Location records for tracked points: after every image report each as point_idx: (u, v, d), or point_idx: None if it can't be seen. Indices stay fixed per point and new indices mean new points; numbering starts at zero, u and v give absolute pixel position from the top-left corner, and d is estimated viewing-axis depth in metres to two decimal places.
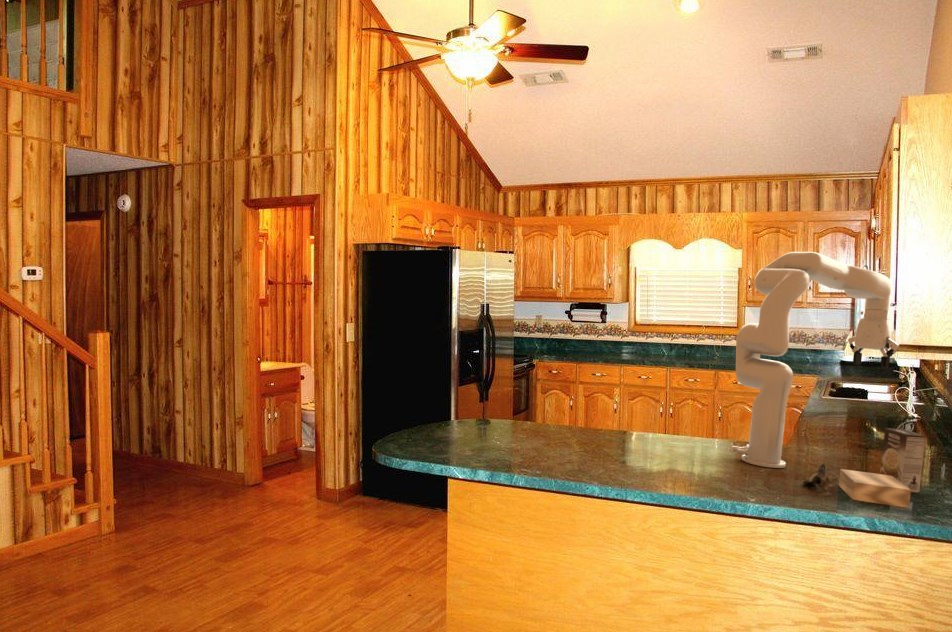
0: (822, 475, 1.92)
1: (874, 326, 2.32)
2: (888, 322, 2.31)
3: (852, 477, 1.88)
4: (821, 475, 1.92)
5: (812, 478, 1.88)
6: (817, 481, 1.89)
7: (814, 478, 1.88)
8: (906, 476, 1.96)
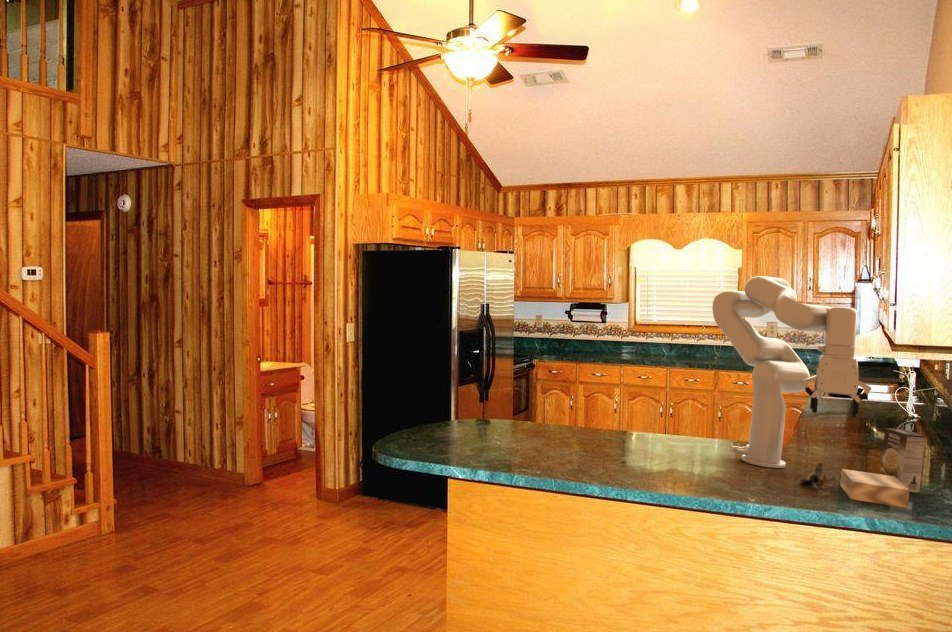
0: (819, 474, 1.94)
1: (847, 366, 1.91)
2: None
3: (851, 477, 1.88)
4: (818, 474, 1.93)
5: (809, 477, 1.89)
6: (814, 480, 1.90)
7: (811, 477, 1.90)
8: (906, 476, 1.96)
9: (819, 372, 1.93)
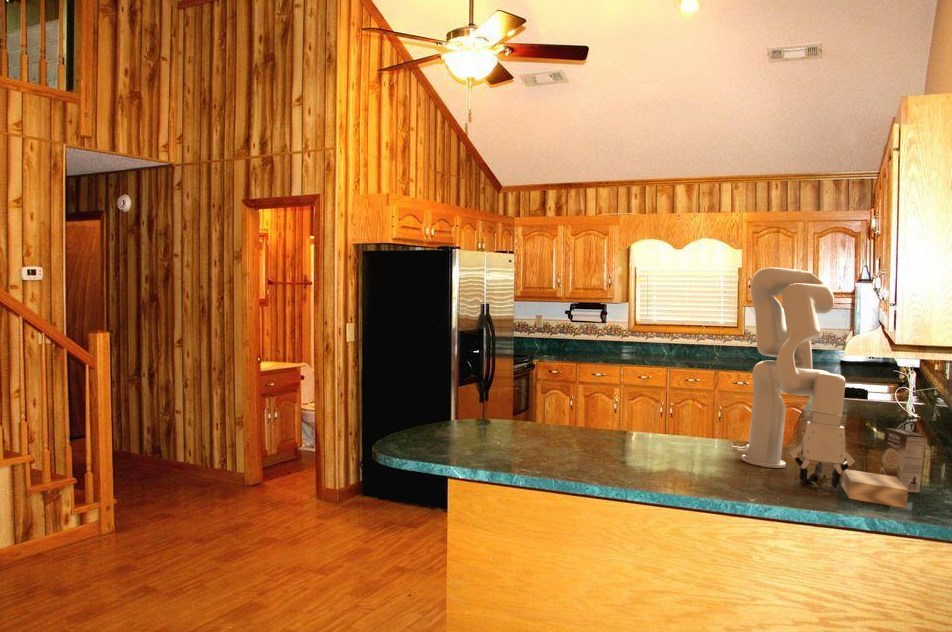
0: (819, 473, 1.95)
1: (834, 435, 1.87)
2: None
3: (851, 476, 1.88)
4: (818, 473, 1.94)
5: (809, 476, 1.90)
6: (814, 478, 1.91)
7: (811, 476, 1.91)
8: (906, 476, 1.96)
9: (805, 440, 1.89)
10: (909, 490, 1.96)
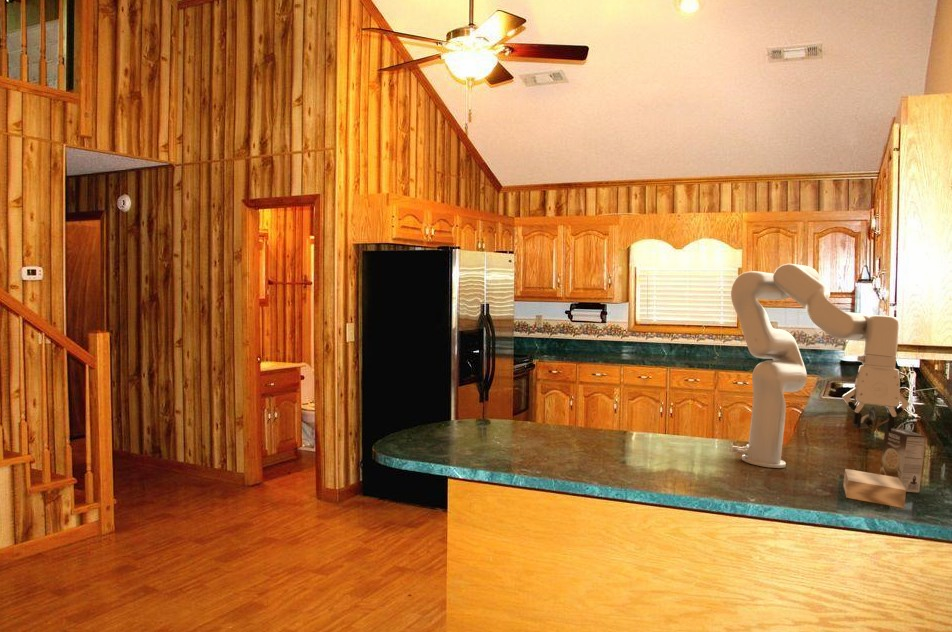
0: (872, 418, 1.92)
1: (888, 377, 1.84)
2: None
3: (850, 476, 1.89)
4: (871, 418, 1.91)
5: (863, 419, 1.88)
6: (868, 423, 1.88)
7: (865, 420, 1.88)
8: (906, 476, 1.96)
9: (859, 383, 1.87)
10: (909, 490, 1.96)
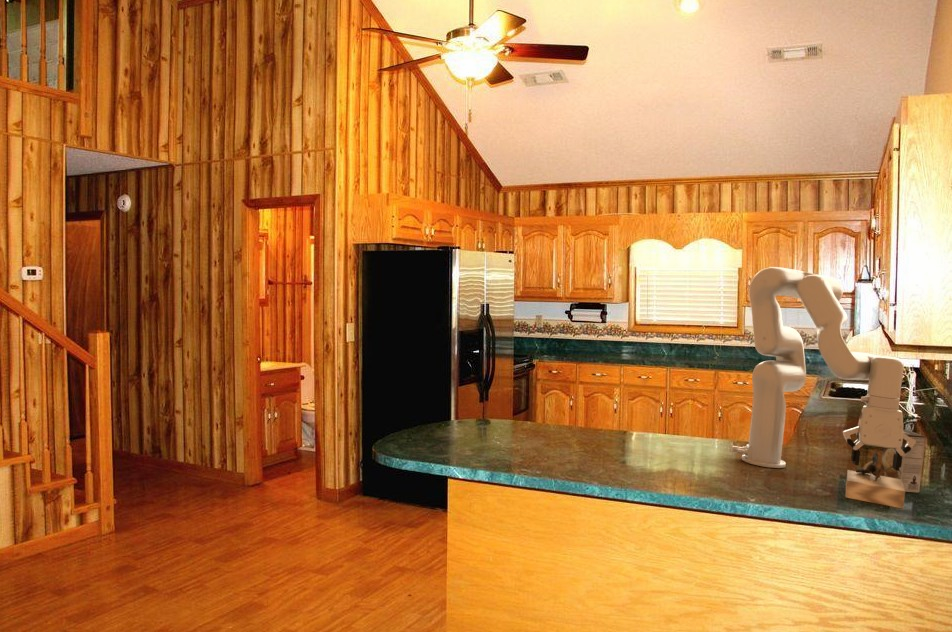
0: (875, 464, 1.92)
1: (892, 419, 1.84)
2: None
3: (850, 476, 1.89)
4: (875, 463, 1.91)
5: (867, 466, 1.88)
6: (871, 469, 1.88)
7: (869, 466, 1.88)
8: (906, 476, 1.96)
9: (862, 424, 1.87)
10: (909, 490, 1.96)
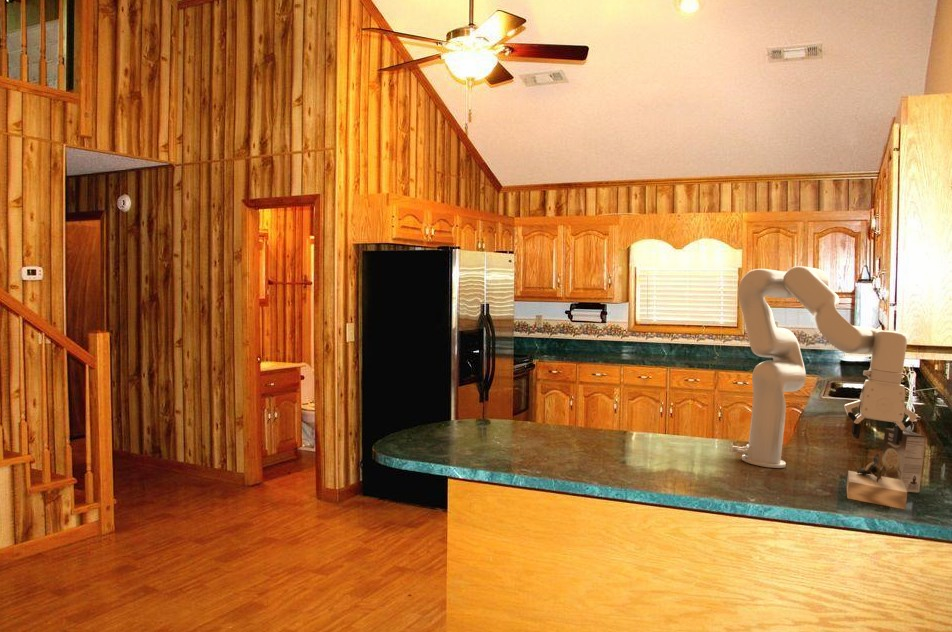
0: (876, 464, 1.91)
1: (894, 393, 1.84)
2: None
3: (852, 477, 1.88)
4: (876, 464, 1.91)
5: (868, 467, 1.87)
6: (873, 470, 1.88)
7: (870, 467, 1.87)
8: (906, 476, 1.96)
9: (864, 398, 1.87)
10: (909, 490, 1.96)
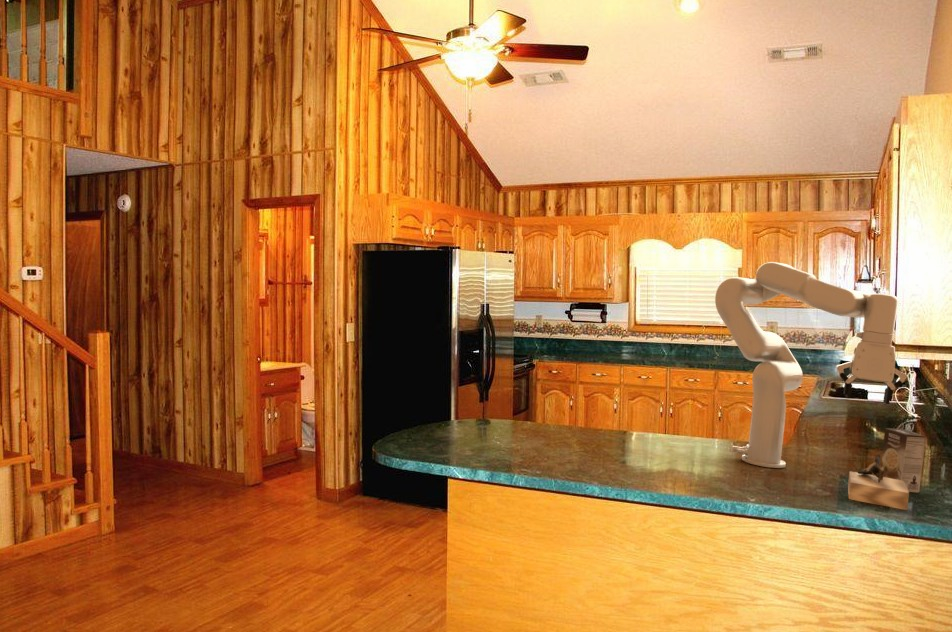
0: (878, 465, 1.90)
1: (884, 354, 1.90)
2: None
3: (853, 478, 1.87)
4: (877, 465, 1.90)
5: (870, 468, 1.86)
6: (874, 471, 1.87)
7: (872, 468, 1.86)
8: (906, 476, 1.96)
9: (855, 358, 1.93)
10: (909, 490, 1.96)
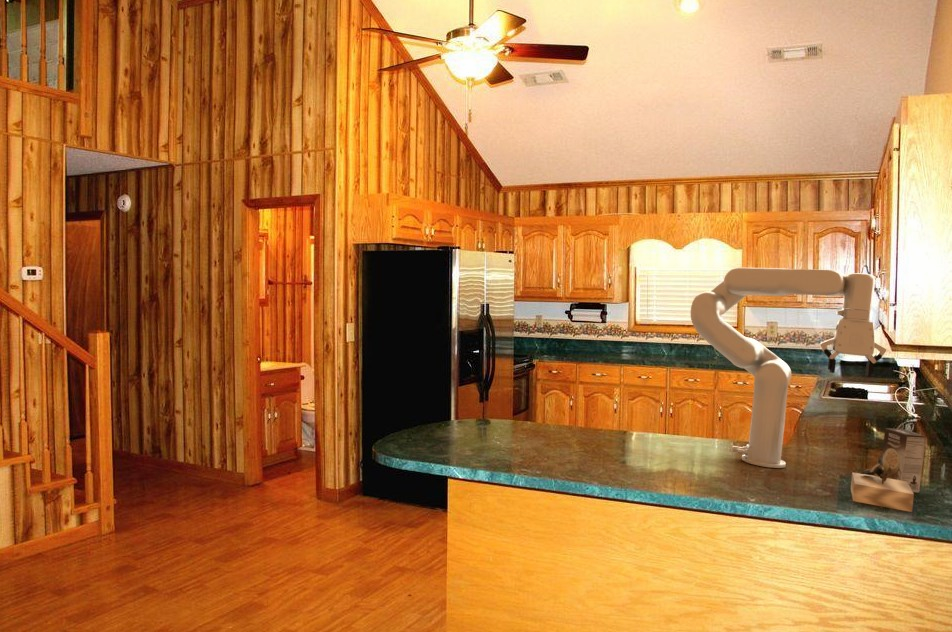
0: (880, 465, 1.89)
1: (864, 329, 2.02)
2: None
3: (857, 479, 1.86)
4: (880, 465, 1.89)
5: (874, 469, 1.85)
6: (878, 472, 1.85)
7: (875, 469, 1.85)
8: (906, 476, 1.96)
9: (837, 334, 2.05)
10: None
